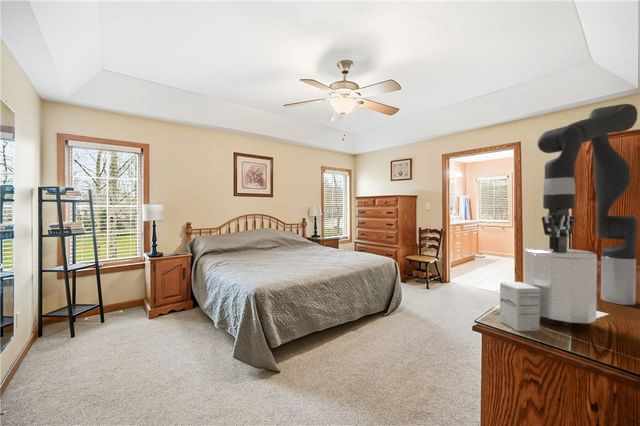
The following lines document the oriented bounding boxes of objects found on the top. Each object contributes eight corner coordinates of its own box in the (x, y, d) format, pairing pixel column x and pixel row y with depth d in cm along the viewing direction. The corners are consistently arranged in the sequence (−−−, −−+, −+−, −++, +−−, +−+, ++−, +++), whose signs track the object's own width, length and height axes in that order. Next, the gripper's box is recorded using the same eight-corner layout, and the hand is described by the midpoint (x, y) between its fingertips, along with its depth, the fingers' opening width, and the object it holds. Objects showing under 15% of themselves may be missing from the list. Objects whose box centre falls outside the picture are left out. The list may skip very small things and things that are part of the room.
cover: (541, 300, 98) (542, 233, 98) (607, 317, 83) (608, 237, 82) (511, 307, 91) (512, 235, 91) (577, 327, 76) (578, 240, 75)
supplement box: (498, 321, 89) (499, 281, 88) (520, 320, 89) (520, 281, 89) (516, 331, 81) (517, 288, 81) (540, 330, 82) (541, 287, 82)
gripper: (557, 194, 93) (556, 246, 93) (531, 193, 87) (531, 248, 87) (586, 193, 86) (585, 249, 86) (561, 192, 80) (560, 252, 80)
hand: (558, 248), depth 87 cm, fingers closed on cover, 4 cm apart
